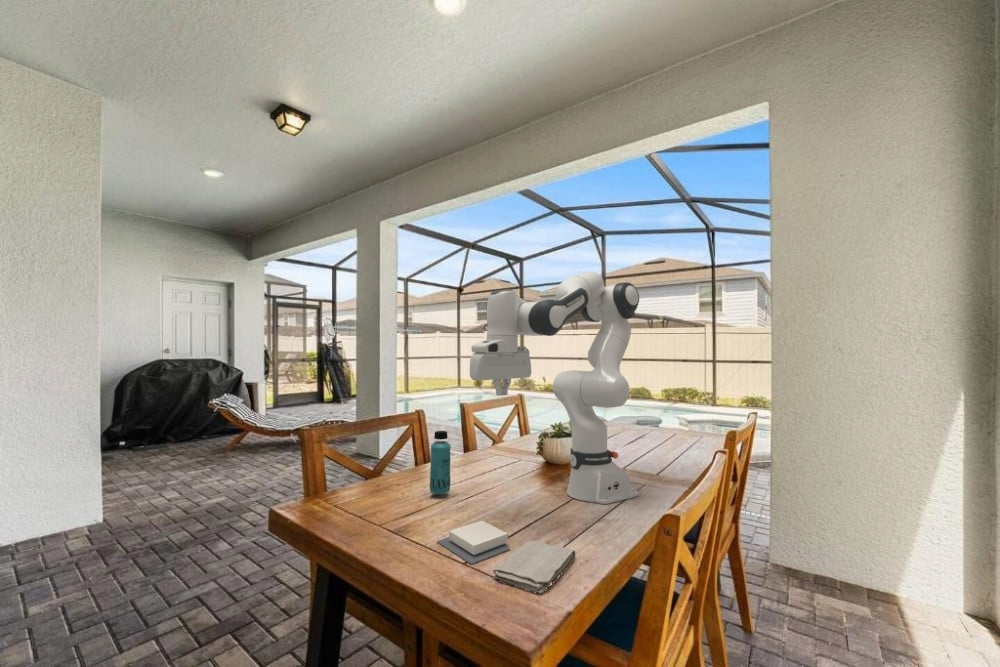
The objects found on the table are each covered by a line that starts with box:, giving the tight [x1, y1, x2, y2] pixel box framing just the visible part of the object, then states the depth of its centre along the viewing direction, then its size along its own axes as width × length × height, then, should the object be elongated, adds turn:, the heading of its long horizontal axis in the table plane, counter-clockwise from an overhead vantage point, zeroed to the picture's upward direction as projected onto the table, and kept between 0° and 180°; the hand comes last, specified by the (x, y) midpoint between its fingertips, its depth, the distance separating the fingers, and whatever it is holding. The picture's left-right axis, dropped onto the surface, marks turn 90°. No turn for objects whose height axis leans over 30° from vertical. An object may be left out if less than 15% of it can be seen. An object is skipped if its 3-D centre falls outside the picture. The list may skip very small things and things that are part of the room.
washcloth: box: [492, 539, 576, 595], centre depth 94 cm, size 12×18×3 cm, turn 151°
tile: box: [448, 520, 509, 556], centre depth 105 cm, size 2×10×10 cm
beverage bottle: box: [429, 430, 451, 495], centre depth 139 cm, size 6×7×20 cm
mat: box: [436, 536, 511, 566], centre depth 104 cm, size 11×14×1 cm
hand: (501, 395), depth 125 cm, fingers closed
